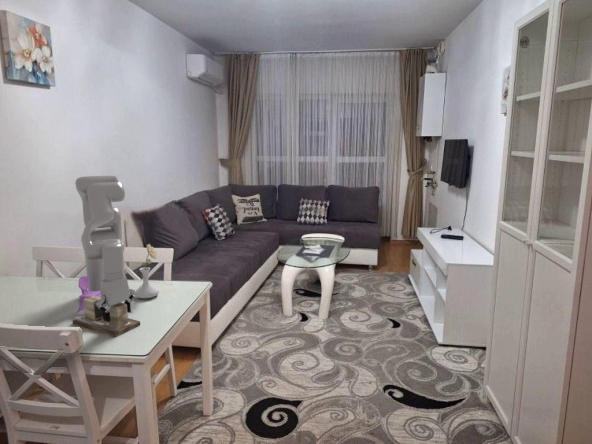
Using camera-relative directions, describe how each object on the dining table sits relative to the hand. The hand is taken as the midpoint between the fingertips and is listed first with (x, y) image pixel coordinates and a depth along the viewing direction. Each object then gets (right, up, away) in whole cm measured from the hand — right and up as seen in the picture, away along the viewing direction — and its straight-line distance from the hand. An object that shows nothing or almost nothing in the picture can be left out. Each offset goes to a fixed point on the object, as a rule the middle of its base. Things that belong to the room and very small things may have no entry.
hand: (117, 316), depth 162 cm
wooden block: (0, -3, +1) cm, 3 cm away
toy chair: (-20, -2, +19) cm, 27 cm away
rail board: (-6, -4, +4) cm, 8 cm away
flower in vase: (-1, +2, +36) cm, 36 cm away
